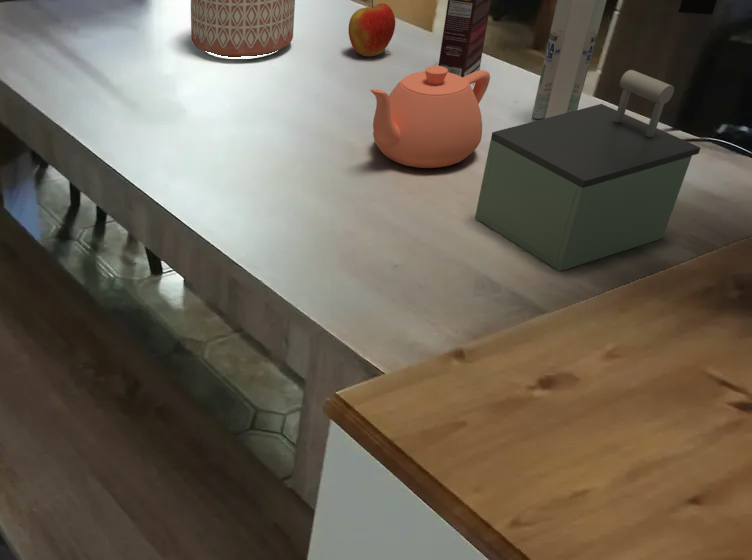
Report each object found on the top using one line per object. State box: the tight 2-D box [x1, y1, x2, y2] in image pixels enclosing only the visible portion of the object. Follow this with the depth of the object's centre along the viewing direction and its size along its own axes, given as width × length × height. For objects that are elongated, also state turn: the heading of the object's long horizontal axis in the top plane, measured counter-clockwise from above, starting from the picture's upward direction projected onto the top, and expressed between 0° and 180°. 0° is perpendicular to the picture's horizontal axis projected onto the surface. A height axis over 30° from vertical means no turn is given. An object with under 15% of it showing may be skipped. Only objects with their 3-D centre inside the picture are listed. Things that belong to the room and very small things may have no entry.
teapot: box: [369, 65, 491, 169], centre depth 133 cm, size 22×15×12 cm
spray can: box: [530, 0, 608, 122], centre depth 137 cm, size 6×6×20 cm
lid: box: [490, 69, 701, 187], centre depth 110 cm, size 18×16×7 cm
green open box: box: [474, 138, 692, 272], centre depth 116 cm, size 17×16×11 cm
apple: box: [348, 0, 396, 57], centre depth 166 cm, size 8×8×10 cm
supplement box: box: [437, 0, 492, 77], centre depth 154 cm, size 9×5×16 cm, turn 144°
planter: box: [190, 0, 296, 57], centre depth 171 cm, size 19×19×15 cm
